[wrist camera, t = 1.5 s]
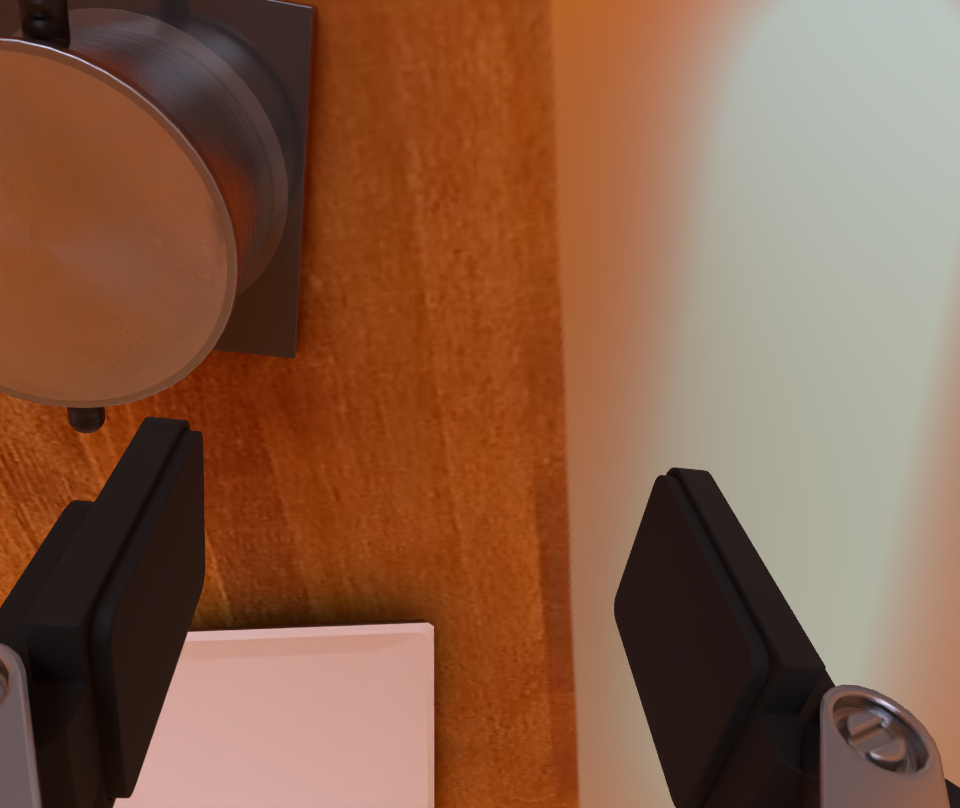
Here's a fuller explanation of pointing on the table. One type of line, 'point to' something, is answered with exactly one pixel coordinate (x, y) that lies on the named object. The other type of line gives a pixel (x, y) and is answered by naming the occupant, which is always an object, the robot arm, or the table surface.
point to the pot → (117, 212)
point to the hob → (272, 108)
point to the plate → (296, 719)
